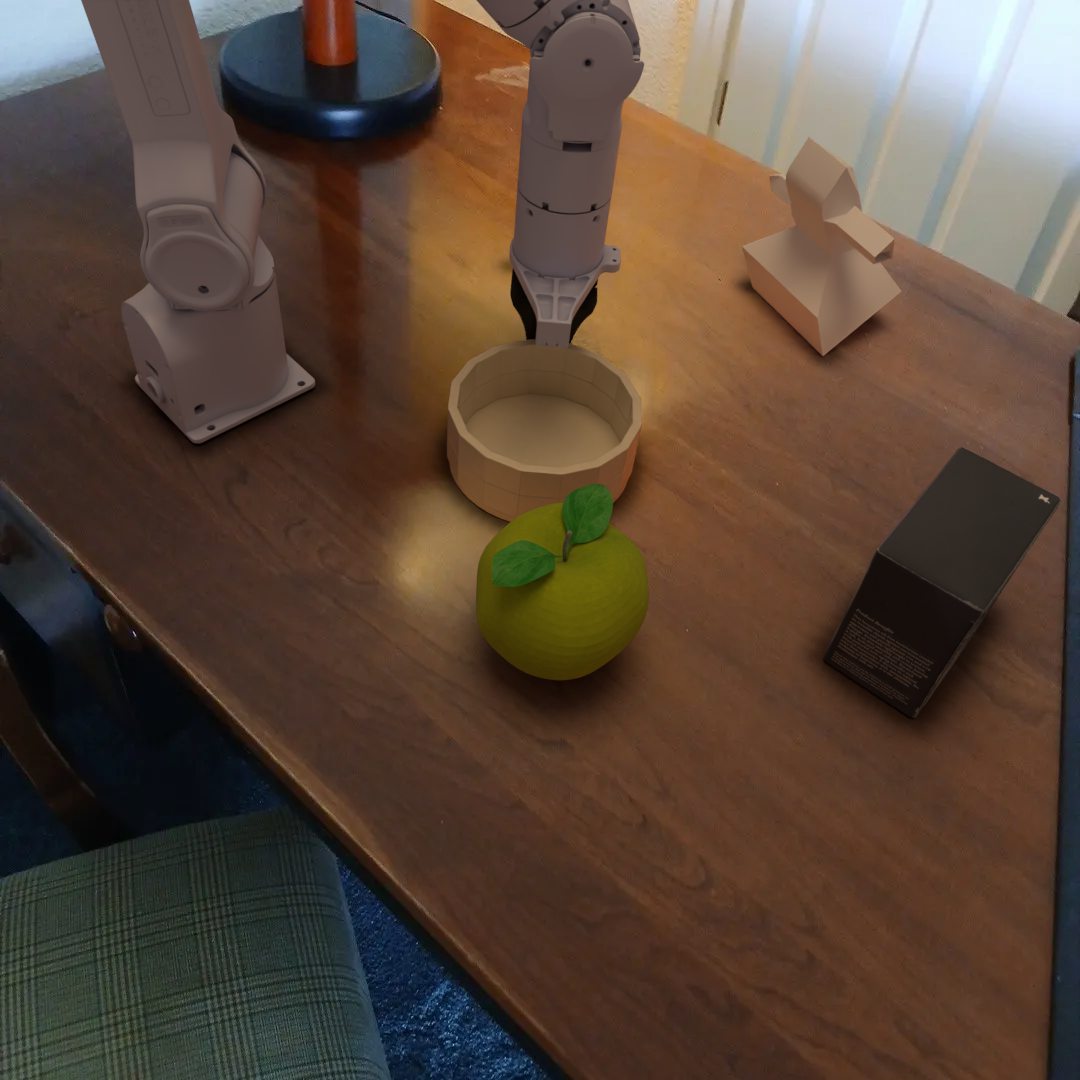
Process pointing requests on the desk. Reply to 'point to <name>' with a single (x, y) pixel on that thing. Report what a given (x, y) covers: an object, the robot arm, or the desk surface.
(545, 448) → the bowl
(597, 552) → the fruit
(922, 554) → the small box
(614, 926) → the desk surface
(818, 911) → the desk surface
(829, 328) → the beige block sculpture
